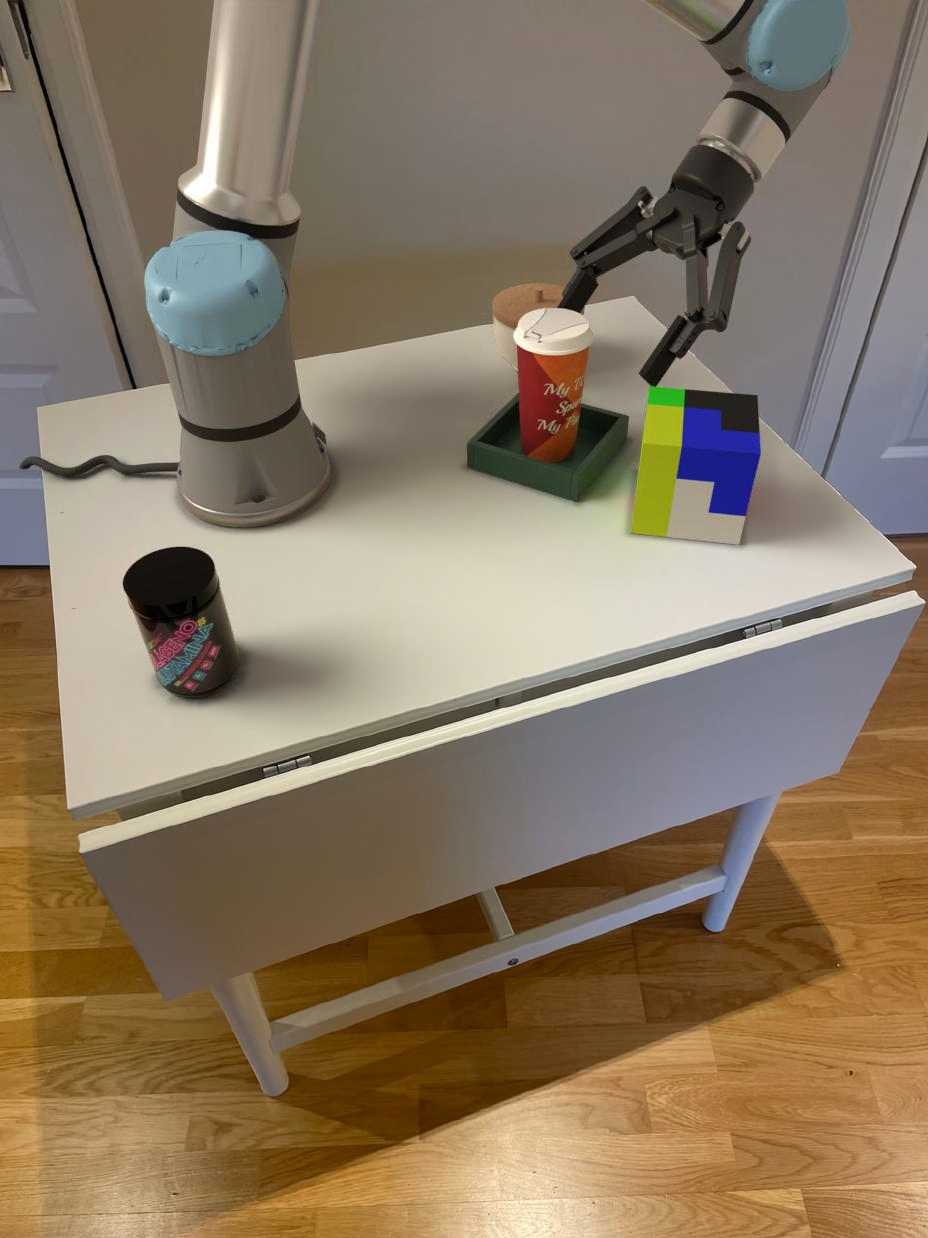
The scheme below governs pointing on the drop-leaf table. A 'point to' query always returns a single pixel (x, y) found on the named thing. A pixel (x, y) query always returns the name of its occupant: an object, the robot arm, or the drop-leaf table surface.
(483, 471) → the green square tray
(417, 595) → the drop-leaf table surface
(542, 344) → the paper cup
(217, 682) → the supplement container
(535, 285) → the trinket box
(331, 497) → the drop-leaf table surface
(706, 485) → the puzzle toy
